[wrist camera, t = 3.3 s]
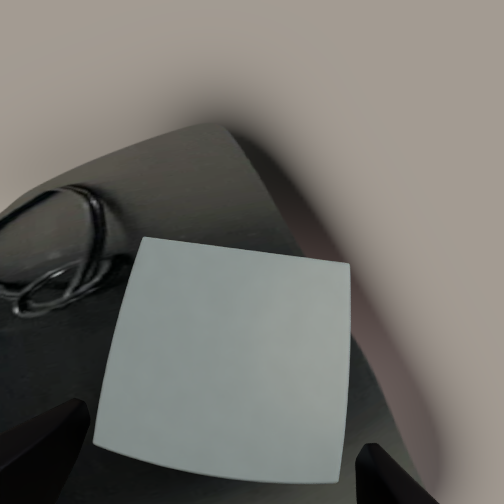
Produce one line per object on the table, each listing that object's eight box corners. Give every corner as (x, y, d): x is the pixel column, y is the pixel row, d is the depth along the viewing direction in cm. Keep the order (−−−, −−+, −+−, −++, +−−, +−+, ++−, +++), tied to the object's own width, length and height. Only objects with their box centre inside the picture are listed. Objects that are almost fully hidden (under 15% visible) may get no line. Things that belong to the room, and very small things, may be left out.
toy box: (276, 441, 16) (339, 484, 5) (178, 427, 16) (91, 444, 5) (286, 350, 19) (351, 262, 8) (193, 337, 19) (142, 235, 8)
